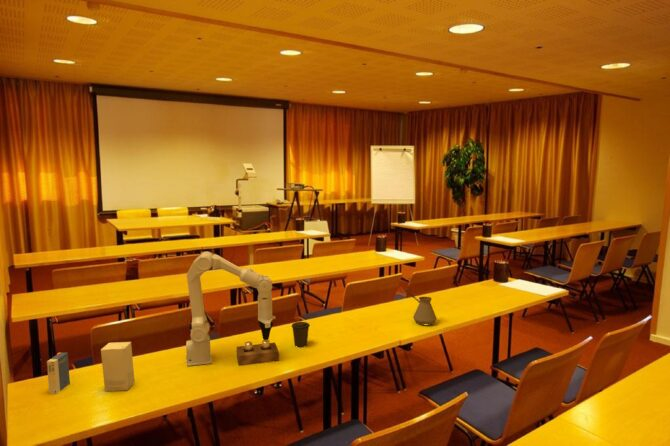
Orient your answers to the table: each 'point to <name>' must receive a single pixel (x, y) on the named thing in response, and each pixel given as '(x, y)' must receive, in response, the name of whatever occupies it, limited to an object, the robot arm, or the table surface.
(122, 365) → the skincare box
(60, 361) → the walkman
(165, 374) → the table surface
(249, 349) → the peg left
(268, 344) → the peg right
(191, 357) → the robot arm
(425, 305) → the coffee pot
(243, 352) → the socket block
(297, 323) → the coffee cup
